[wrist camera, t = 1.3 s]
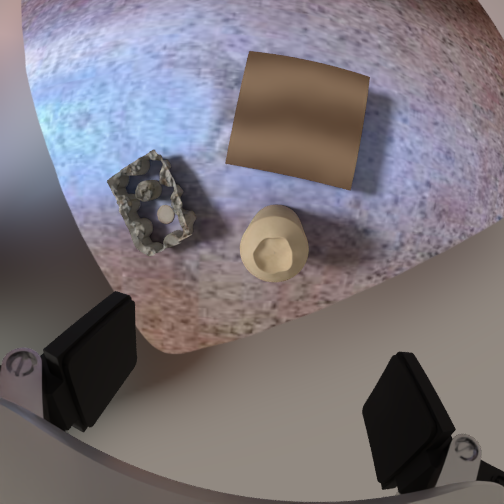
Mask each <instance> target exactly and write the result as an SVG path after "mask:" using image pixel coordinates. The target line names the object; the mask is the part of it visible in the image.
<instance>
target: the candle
mask: <svg viewBox="0 0 504 504" xmlns="http://www.w3.org/2000/svg"><path fill="white" fill-rule="evenodd" d="M308 252H309V247H308V241H307V238H306V235H305V232H304V230H303V227H302V224H301V222H300V219H299V218H298V216H297V215H296V213H295V212H294V211H293V210H291V209H290V208H288V207H286V206H283V205H270V206H267V207H264V208H263V209H261V210H260V211H259V212H258V213H257V214H256V215H255V217H254V218H253V220H252V221H251V223H250V225H249V226H248V228H247V229H246V231H245V233H244V235H243V237H242V240H241V244H240V254H241V258H242V261H243V263H244V265H245V267H246V268H247V269H248V271H249V272H250V273H251V274H253V275H254V276H255V277H257V278H259V279H261V280H264V281H268V282H282V281H286V280H288V279H290V278H292V277H294V276H295V275H297V274H298V273H299V272H300V271H301V270H302V268H303V267H304V265H305V263H306V261H307V258H308Z"/></svg>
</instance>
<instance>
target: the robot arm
mask: <svg viewBox="0 0 504 504" xmlns="http://www.w3.org/2000/svg"><path fill="white" fill-rule="evenodd" d="M43 351H44V353H43V354H42V355H41V356H39V354H38V353H37V352H35V351H34V350H32V349H29V348H17V349H14V350H12V351H10V352H9V353H8V354H6V356H5V357H4V358H3V361H2V365H0V504H504V472H503V471H501V470H500V469H497V468H496V467H494V466H491V465H490V464H488V463H486V462H484V461H482V460H481V448H480V445H479V443H478V442H477V441H476V440H475V438H473V437H471V436H470V435H467V434H458V435H456V436H455V437H454V438H453V439H452V437H451V435H452V433H453V432H454V431H455V430H456V429H455V427H454V425H453V423H452V421H451V419H450V417H449V415H448V414H447V411H446V410H445V408H444V406H443V404H442V402H441V400H440V399H439V396H438V395H437V393H436V391H435V389H434V388H433V386H432V384H431V382H430V380H429V379H428V377H427V375H426V374H425V372H424V370H423V369H422V367H421V365H420V363H419V362H418V360H417V358H416V357H415V355H414V354H413V353H409V352H398V353H397V354H396V355H393V356H392V358H391V359H390V361H389V363H388V365H387V367H386V369H385V370H384V372H383V374H382V376H381V377H380V379H379V381H378V383H377V385H376V386H375V388H374V389H373V391H372V393H371V394H370V396H369V398H368V399H367V401H366V403H365V404H364V406H363V410H362V414H363V418H364V422H365V426H366V430H367V434H368V439H369V443H370V447H371V452H372V457H373V461H374V466H375V471H376V476H377V480H378V482H379V483H381V486H382V490H384V489H391V488H395V487H398V492H397V494H396V495H395V496H389V497H383V498H376V499H367V500H356V501H341V502H293V501H279V500H268V499H260V498H252V497H245V496H239V495H233V494H227V493H222V492H218V491H213V490H209V489H204V488H200V487H196V486H192V485H188V484H185V483H182V482H178V481H175V480H171V479H168V478H165V477H162V476H159V475H156V474H154V473H151V472H148V471H145V470H143V469H140V468H138V467H135V466H133V465H130V464H128V463H126V462H123V461H121V460H119V459H117V458H114V457H112V456H110V455H108V454H106V453H104V452H102V451H100V450H98V449H96V448H94V447H92V446H90V445H88V444H86V443H84V442H82V441H80V440H78V439H77V438H75V437H73V436H71V435H70V434H69V432H68V430H69V429H70V428H71V426H73V427H75V428H77V429H78V430H80V431H82V432H85V430H86V429H87V427H92V426H93V425H94V424H95V423H96V421H97V419H98V418H99V417H100V415H101V414H102V412H103V411H104V410H105V408H106V407H107V405H108V404H109V402H110V401H111V400H112V398H113V397H114V395H115V394H116V393H117V391H118V390H119V388H120V387H121V385H122V384H123V383H124V381H125V380H126V378H127V377H128V376H129V374H130V373H131V371H132V370H133V369H134V367H135V365H136V362H137V353H136V330H135V302H134V301H132V299H131V297H130V295H126V294H123V293H120V292H117V291H115V292H113V293H112V294H111V295H109V296H108V297H107V298H106V299H104V300H103V301H102V302H100V303H99V304H98V305H97V306H95V307H94V308H93V309H91V310H90V311H89V312H88V313H87V314H85V315H84V316H83V317H82V318H80V319H79V320H78V321H77V322H75V323H74V324H73V325H72V326H70V327H69V328H68V329H67V330H66V331H64V332H63V333H62V334H61V335H60V336H58V337H57V338H56V339H55V340H54V341H53V342H51V343H50V344H49V345H48V346H47V347H46V348H44V349H43Z"/></svg>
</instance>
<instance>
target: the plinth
mask: <svg viewBox="0 0 504 504" xmlns="http://www.w3.org/2000/svg"><path fill="white" fill-rule="evenodd" d="M369 80H370V77H368V76H365V75H362V74H359V73H355V72H352V71H349V70H345V69H342V68H338V67H334V66H330V65H326V64H322V63H318V62H314V61H309V60H304V59H299V58H294V57H289V56H283V55H276V54H269V53H262V52H254V51H249V54H248V58H247V62H246V67H245V71H244V75H243V80H242V84H241V89H240V93H239V98H238V102H237V107H236V112H235V117H234V122H233V127H232V131H231V137H230V142H229V147H228V152H227V157H226V163H225V164H230V165H236V166H242V167H248V168H253V169H259V170H264V171H269V172H274V173H279V174H283V175H288V176H293V177H297V178H302V179H306V180H310V181H315V182H319V183H323V184H327V185H331V186H335V187H339V188H343V189H346V190H351V186H352V181H353V176H354V172H355V167H356V162H357V156H358V151H359V146H360V140H361V135H362V129H363V123H364V116H365V110H366V103H367V95H368V88H369Z"/></svg>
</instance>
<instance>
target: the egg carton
mask: <svg viewBox="0 0 504 504" xmlns="http://www.w3.org/2000/svg"><path fill="white" fill-rule="evenodd" d="M150 159H152V160H158V161H162V163H163V166H162V169H161V171H160V180H159V182H160V183H159V182H158V181H157V180H146V181H142V182H140V183H139V184H138V186H137V188H136V191H135V194H128V192H127V190H126V187H127V185H128V183H129V176H131V175H133V176H137V175H144V174H146V173H147V172H148V170H149V168H150V161H149V160H150ZM170 168H171V165H170V163H169V161H168V160H162V156H161V155H158V154H157V153H156V152H155V150H152V151H150V152H149V153H148V154H146V155H145V156H143V157H140V158H139V159H137V160H136V161H135V162H133V163H131V164H129V165H128V166H127V167H125V168H123V169H122V170H121V171H120V172H118V173H117V174H115V175H114V176H112V177H111V178H110V179H109V180H107V183H108V185H109V187H110V188H111V190H112V193H113V195H114V196H115V197H116V199H117V204H118V205H119V207H120V208H119V212H120V214H121V215H122V217H123V219H124V221H125V224H126V226H127V228H128V229H129V232H130V234H131V237H132V240H133V243H134V245H135V247H136V248H137V249H138V250H139V251H141V252H142V253H144V254H146V255H148V256H152V255H154V254H155V253H158V252H161V251H163V250H165V249H166V248H168V247H172V246H175V245H177V244H179V243H181V242H180V241H181V240H183V239H185V238H187V237H189V236H191V235H192V234H191V233H193V223H194V221H195V220H196V215H195V213H194V212H193V211H186V210H184V209H183V208H182V202H181V200H180V197H181V195H182V194H183V193H184V191H183V190H182V189H181V187H180V186H179V185H176V184H175V181H174V179H173V177H172V175H171V174H170V172H169V169H170ZM150 179H151V178H150ZM161 184H163V185H166V186H168V187H170V186H173V187H174V192H173V193H172V195H171V198H170V199H171V200H172V202H171V206H172V207H173V209H172V208H171V207H170V206H168V205H162V206H161V207H160V208H159V209H158V212H157V215H158V219H159V221H160V222H162V223H164V224H169V223H171V222H172V221H173V219H174V215H175V214H176V215H178V219H179V222H180V225H181V227H182V228H183V231H181V230H176V231H174V232H172V233H170V234H168V235H167V236H166V237H165V239H164V242H163V245H164V246H163V245H162V244H161V243H159V242H152V241H151V239H150V237H149V235H150V234H151V233H152V231H153V225H152V223H151V221H150V220H149V219H147V218H140V217H139V215H138V213H137V210H138V209H139V208H140V204H141V202H140V200H141V201H143V202H146V201H150V200H154V199H157V198H158V197H159V196H160V195H161V192H162V187H161Z"/></svg>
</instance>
